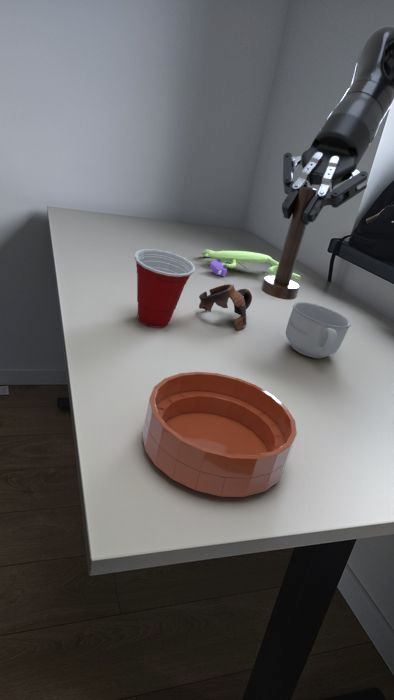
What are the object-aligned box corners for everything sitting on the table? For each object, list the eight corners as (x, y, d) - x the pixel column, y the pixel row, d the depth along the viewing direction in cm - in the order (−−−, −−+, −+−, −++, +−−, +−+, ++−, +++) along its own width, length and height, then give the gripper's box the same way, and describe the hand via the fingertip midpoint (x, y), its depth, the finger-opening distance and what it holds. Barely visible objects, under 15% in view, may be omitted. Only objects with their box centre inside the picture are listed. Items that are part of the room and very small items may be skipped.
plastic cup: (140, 336, 84) (152, 269, 79) (115, 310, 92) (124, 247, 87) (193, 332, 90) (207, 270, 85) (165, 308, 98) (177, 250, 93)
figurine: (296, 296, 123) (302, 275, 121) (192, 270, 124) (197, 249, 122) (294, 276, 140) (300, 257, 137) (203, 253, 141) (207, 234, 139)
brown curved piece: (231, 337, 93) (218, 296, 90) (197, 337, 100) (184, 299, 97) (268, 313, 100) (257, 274, 98) (235, 315, 107) (224, 279, 105)
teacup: (280, 333, 99) (292, 296, 95) (333, 346, 98) (347, 309, 95) (282, 363, 86) (295, 322, 83) (342, 378, 86) (358, 337, 82)
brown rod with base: (281, 286, 80) (310, 185, 74) (303, 299, 76) (336, 194, 70) (254, 286, 78) (281, 181, 71) (275, 299, 73) (306, 190, 67)
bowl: (232, 403, 71) (242, 367, 68) (310, 484, 58) (326, 443, 55) (120, 419, 62) (127, 378, 59) (184, 518, 49) (196, 471, 46)
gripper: (304, 103, 74) (248, 186, 70) (396, 121, 69) (342, 213, 64) (306, 143, 81) (255, 221, 76) (390, 162, 75) (341, 248, 71)
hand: (295, 217), depth 70 cm, fingers closed on brown rod with base, 2 cm apart
